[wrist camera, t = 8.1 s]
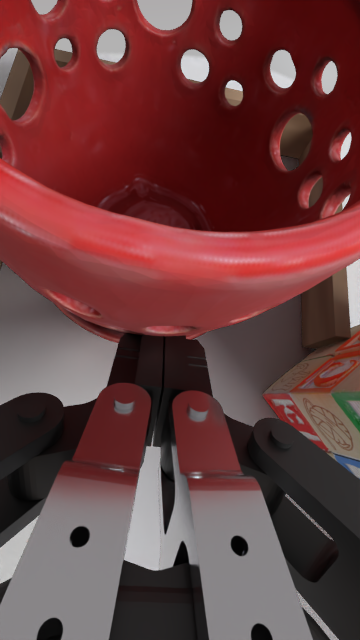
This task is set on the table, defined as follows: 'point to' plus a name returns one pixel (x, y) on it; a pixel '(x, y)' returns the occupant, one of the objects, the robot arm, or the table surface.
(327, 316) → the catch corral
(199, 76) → the table surface
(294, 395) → the stack of blocks
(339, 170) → the plant pot
